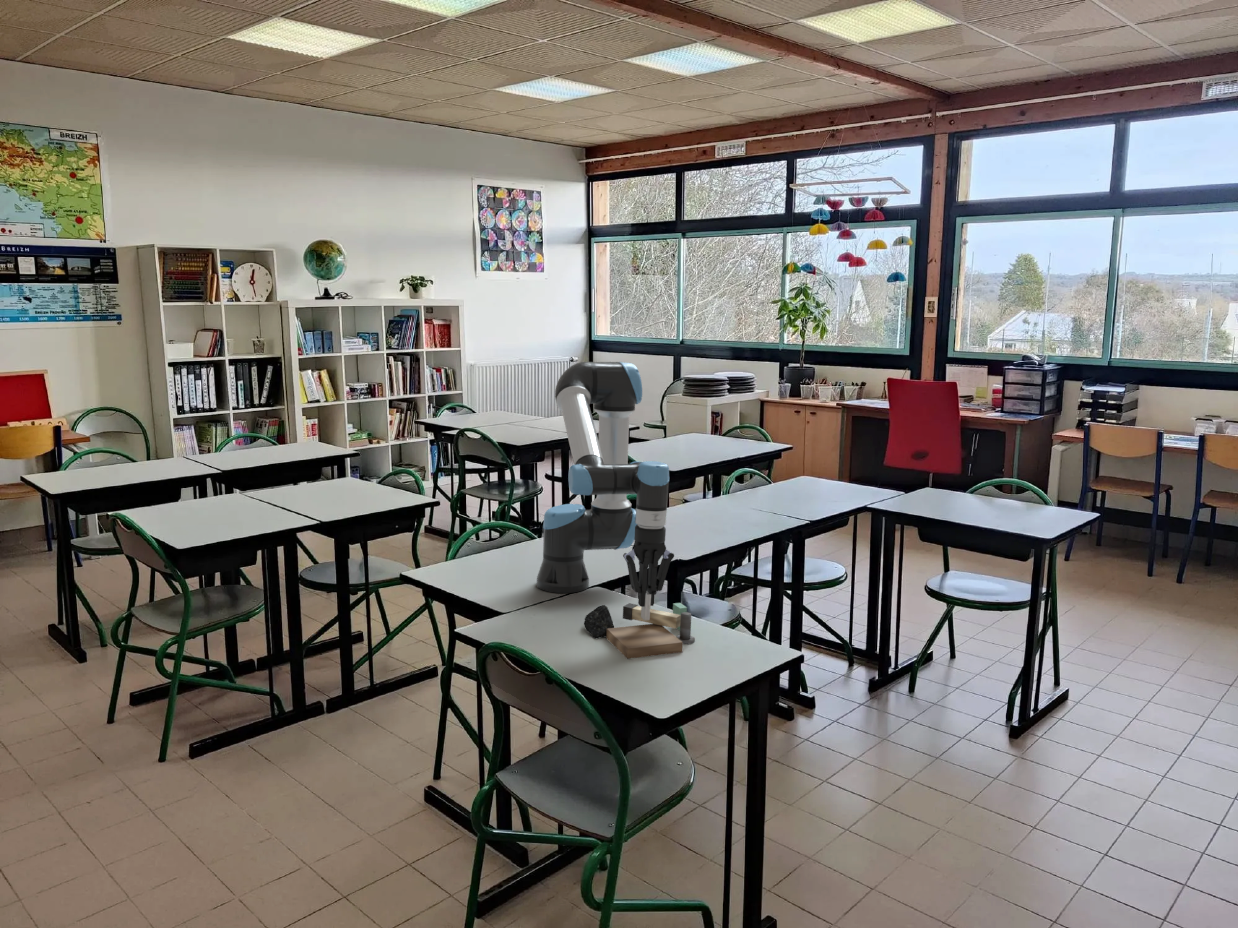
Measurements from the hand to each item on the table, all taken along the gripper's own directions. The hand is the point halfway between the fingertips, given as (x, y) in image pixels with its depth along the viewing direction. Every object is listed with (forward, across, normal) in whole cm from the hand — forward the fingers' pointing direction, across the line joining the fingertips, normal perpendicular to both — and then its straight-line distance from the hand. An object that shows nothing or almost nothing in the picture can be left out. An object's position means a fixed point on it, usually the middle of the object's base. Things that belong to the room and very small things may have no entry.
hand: (645, 618), depth 231 cm
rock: (+5, -9, +6) cm, 12 cm away
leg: (+2, +2, +1) cm, 3 cm away
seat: (+5, +1, -6) cm, 8 cm away
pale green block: (+4, +11, +3) cm, 12 cm away
